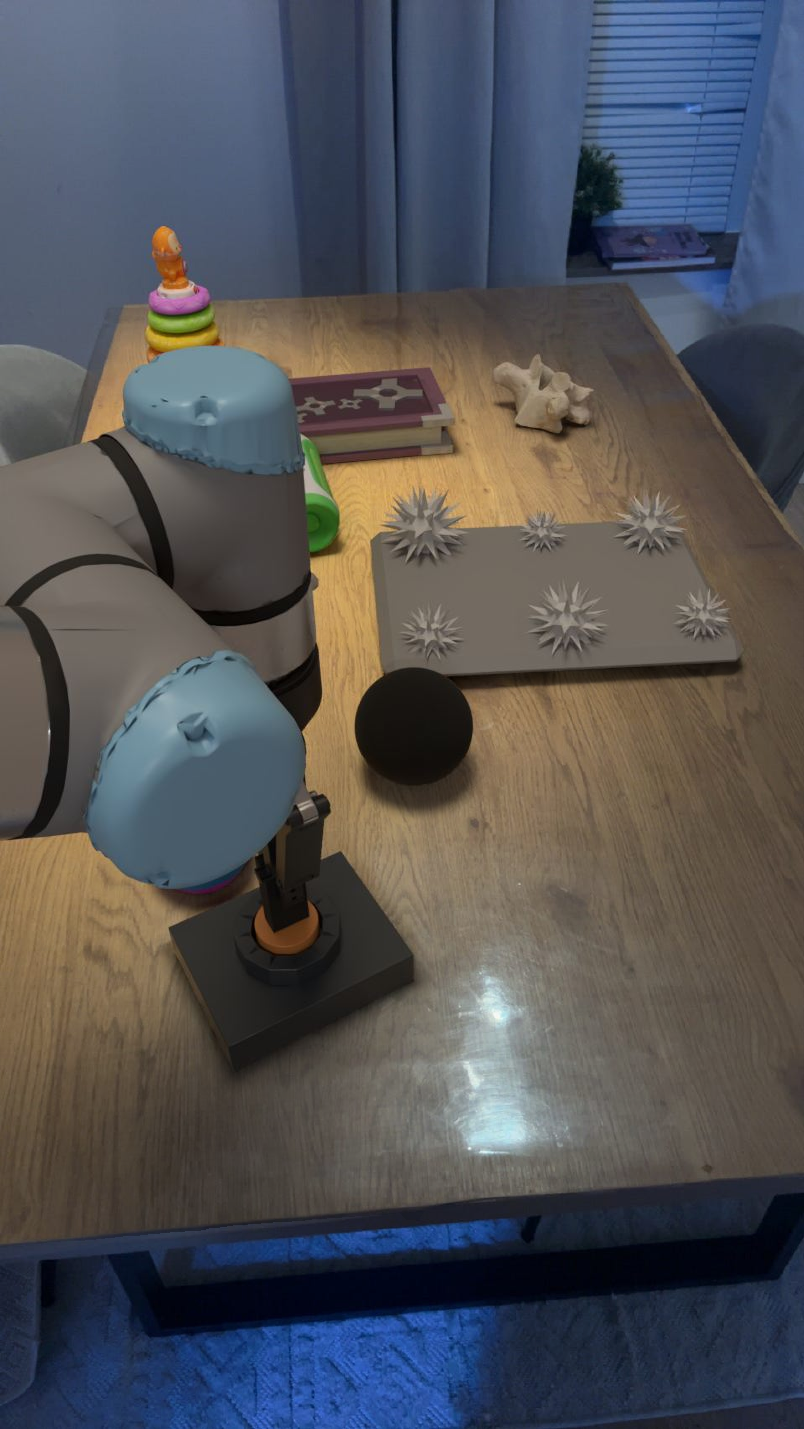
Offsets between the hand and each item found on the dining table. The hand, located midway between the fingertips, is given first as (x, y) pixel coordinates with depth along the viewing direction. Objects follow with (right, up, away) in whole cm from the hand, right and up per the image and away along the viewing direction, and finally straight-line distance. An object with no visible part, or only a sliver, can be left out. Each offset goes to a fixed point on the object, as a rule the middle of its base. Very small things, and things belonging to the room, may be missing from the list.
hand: (287, 917), depth 70 cm
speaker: (-4, +37, +51) cm, 63 cm away
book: (+1, +52, +66) cm, 84 cm away
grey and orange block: (0, -4, +4) cm, 6 cm away
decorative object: (+27, +53, +68) cm, 91 cm away
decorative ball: (+9, +9, +19) cm, 23 cm away
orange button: (0, -2, +2) cm, 2 cm away
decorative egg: (-8, +2, +11) cm, 14 cm away
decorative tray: (+23, +25, +37) cm, 50 cm away
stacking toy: (-22, +59, +75) cm, 98 cm away
